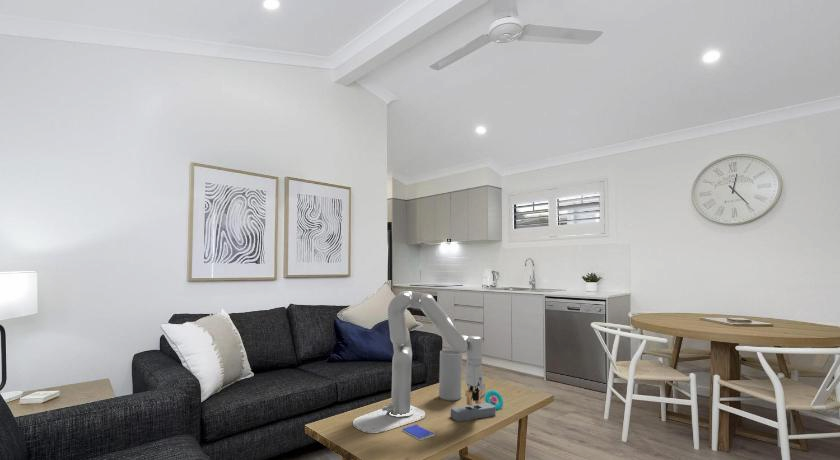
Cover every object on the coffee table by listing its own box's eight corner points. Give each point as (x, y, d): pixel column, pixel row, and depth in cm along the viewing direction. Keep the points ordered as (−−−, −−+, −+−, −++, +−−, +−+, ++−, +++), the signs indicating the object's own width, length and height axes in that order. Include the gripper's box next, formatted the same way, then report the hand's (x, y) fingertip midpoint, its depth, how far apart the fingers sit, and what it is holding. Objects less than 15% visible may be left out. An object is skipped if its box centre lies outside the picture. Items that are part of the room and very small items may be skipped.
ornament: (500, 396, 228) (483, 391, 228) (503, 393, 225) (486, 387, 225) (499, 415, 220) (481, 409, 220) (502, 412, 217) (484, 406, 217)
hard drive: (434, 433, 184) (416, 424, 193) (420, 437, 178) (402, 428, 188) (434, 436, 184) (416, 427, 193) (420, 441, 178) (402, 432, 188)
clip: (468, 406, 206) (468, 392, 206) (465, 404, 208) (465, 390, 209) (481, 403, 209) (482, 390, 210) (478, 402, 212) (478, 388, 212)
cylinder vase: (461, 394, 242) (462, 350, 243) (461, 401, 229) (462, 355, 231) (439, 393, 243) (440, 349, 245) (438, 400, 230) (439, 353, 232)
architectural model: (474, 396, 239) (475, 383, 240) (480, 393, 245) (480, 380, 246) (480, 398, 238) (480, 384, 238) (485, 395, 243) (485, 382, 244)
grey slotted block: (458, 421, 200) (458, 412, 201) (450, 416, 207) (450, 408, 207) (495, 415, 210) (495, 406, 211) (487, 410, 216) (487, 402, 217)
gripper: (459, 358, 216) (458, 395, 215) (477, 366, 201) (476, 405, 200) (471, 357, 219) (470, 393, 218) (490, 364, 205) (489, 403, 203)
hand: (473, 398), depth 209 cm, fingers closed on clip, 3 cm apart
